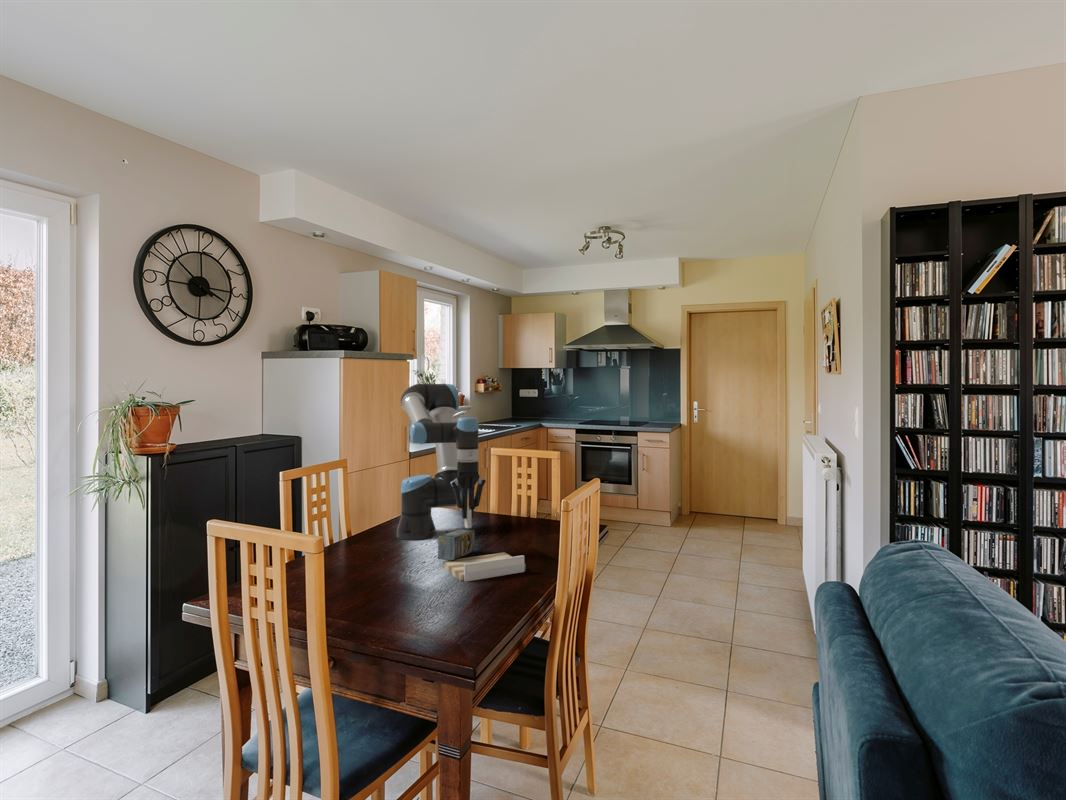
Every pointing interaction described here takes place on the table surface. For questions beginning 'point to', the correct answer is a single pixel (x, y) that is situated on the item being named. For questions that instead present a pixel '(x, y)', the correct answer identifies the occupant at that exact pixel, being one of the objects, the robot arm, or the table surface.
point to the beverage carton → (455, 544)
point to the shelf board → (458, 564)
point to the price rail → (493, 568)
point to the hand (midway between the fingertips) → (468, 527)
